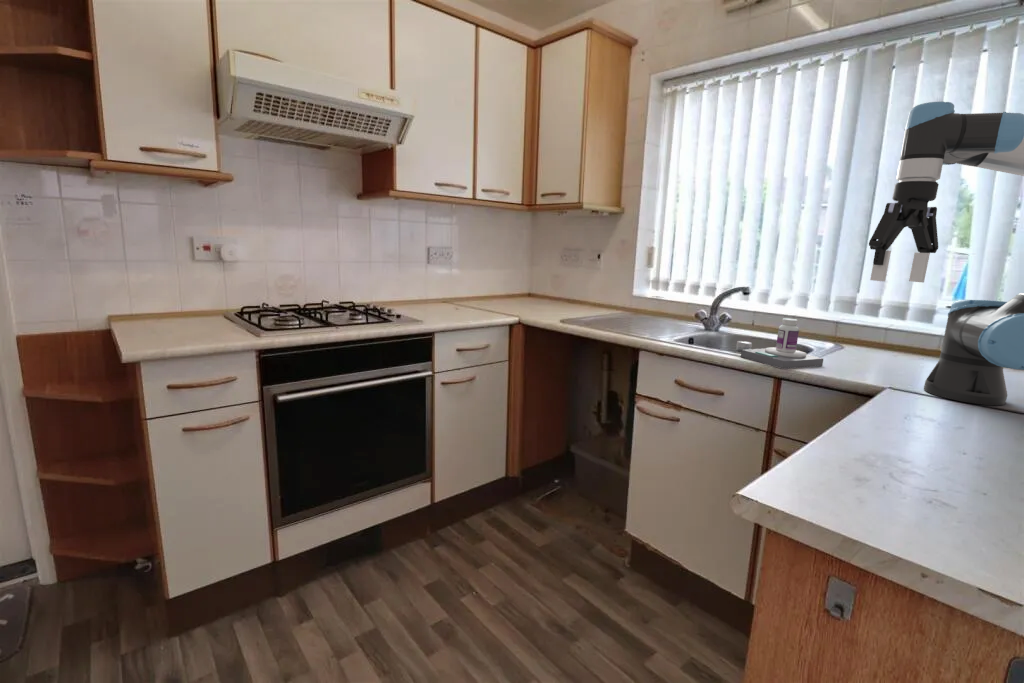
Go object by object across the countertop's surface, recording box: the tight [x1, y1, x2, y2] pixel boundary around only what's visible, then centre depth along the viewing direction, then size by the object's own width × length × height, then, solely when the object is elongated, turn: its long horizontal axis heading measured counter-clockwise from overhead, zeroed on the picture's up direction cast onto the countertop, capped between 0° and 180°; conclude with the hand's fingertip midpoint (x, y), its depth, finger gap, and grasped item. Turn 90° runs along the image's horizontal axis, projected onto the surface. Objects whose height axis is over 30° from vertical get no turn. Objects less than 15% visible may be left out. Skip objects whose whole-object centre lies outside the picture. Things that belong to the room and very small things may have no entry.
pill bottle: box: [775, 317, 800, 353], centre depth 154 cm, size 5×5×10 cm
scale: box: [740, 346, 824, 370], centre depth 155 cm, size 16×15×3 cm
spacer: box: [735, 340, 753, 353], centre depth 167 cm, size 4×4×3 cm
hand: (897, 281), depth 115 cm, fingers open, 13 cm apart
